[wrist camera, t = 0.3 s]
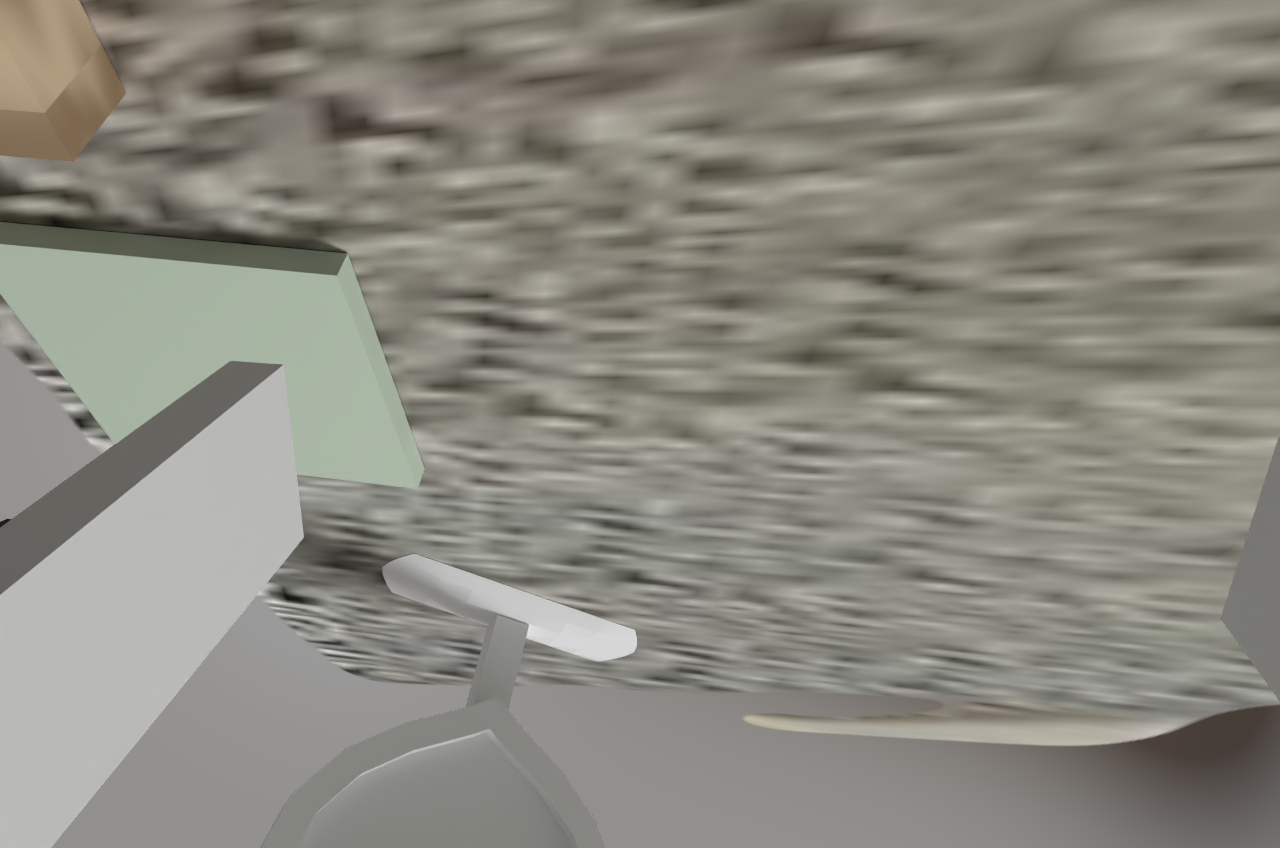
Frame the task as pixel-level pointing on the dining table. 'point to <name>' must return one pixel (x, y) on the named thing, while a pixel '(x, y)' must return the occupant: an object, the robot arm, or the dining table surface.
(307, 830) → the heart sculpture
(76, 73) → the oak collar
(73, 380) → the sage mat
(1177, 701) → the dining table surface
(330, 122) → the dining table surface
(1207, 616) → the dining table surface
